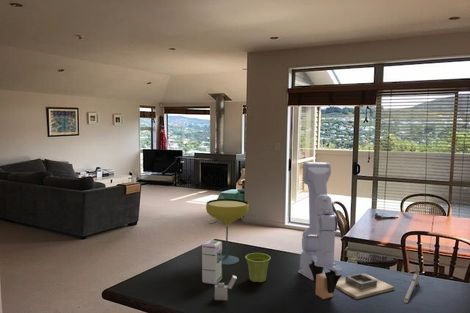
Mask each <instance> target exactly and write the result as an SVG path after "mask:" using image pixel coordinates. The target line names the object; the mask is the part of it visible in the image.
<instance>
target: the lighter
mask: <svg viewBox="0 0 470 313" xmlns="http://www.w3.org/2000/svg"><path fill="white" fill-rule="evenodd" d="M236 281H237V276H236V275H234V274H232V276H231V278H230V280H229V282H228V284H227V285H225V282H218V283H217V284H214V300H215V301H228V292H229V291H228V289H230V290H232V289H233V286H234V284H235V283H236Z"/></svg>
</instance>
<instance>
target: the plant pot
mask: <svg viewBox="0 0 470 313" xmlns="http://www.w3.org/2000/svg"><path fill="white" fill-rule="evenodd" d="M271 259H272V258H271V256H270V255H269V254H266V253H263V252H252V253H248V254H246V255H245V260H246V263H247V267H248V268H247V269H248V277H249V280H250V281H251V282H253V283H257V282H258V283H263V282H265V281H267V274H268V273H267V272H268V269H269V268H268V267H269V263H270V260H271Z"/></svg>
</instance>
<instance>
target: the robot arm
mask: <svg viewBox="0 0 470 313" xmlns="http://www.w3.org/2000/svg"><path fill="white" fill-rule="evenodd" d="M331 172H332V169H331V163H330V162H328V161H326V162H325V161H324V162H321V161H319V162H318V161H317V162H316V161H315V162H314V161H311V162H310V161H305V162H303V165H302V180H303V184H305V185H307V188H308V212H309V214H308V219H309V220H308V222H309V227H308V228H306V229H305V230H304V231H303V232H302V233H301V234H302V238H301V250H302V251H301V254H300V255H299V257H300V258H299V259H300V260H299V270H297V272H298V273H299V274H300V275H302V276H303V277H306V278H308V279H309V280H311V281H313V282H314V285H315V286H316V274H320V273H325V275H326V279H327V289H328V293H335V289H336V284H337V282H338V280H339V278H342V276H343V268H341V267H340V266H339V265H338V264H336V262H335V243H336V242H335V241H336V240H335V239H336V232H337V231H338V228H339V227H338V225H339V224H338V222H339V220H338V216H337V214H336V212H335V211H334V208H333V202H332V197H330V196H328V189H327V188H328V187H327V183H328V181H329V179H330V177H331V174H332V173H331ZM325 269H326V270H328V271H327V272H325Z"/></svg>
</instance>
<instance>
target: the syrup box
mask: <svg viewBox="0 0 470 313" xmlns="http://www.w3.org/2000/svg"><path fill="white" fill-rule="evenodd" d="M201 249H202V250H201V252H202V253H201V255H202V256H201V258H202V260H201V267H202V268H201V269H202V270H201V272H202V273H201V276H202V283H204V284H211V285H217V284H218V283H220V281H221V280H222V279H223V265H222V256H223V242H222V240H216V239H208V240H207V241H206V242H204V243H202V246H201Z"/></svg>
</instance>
